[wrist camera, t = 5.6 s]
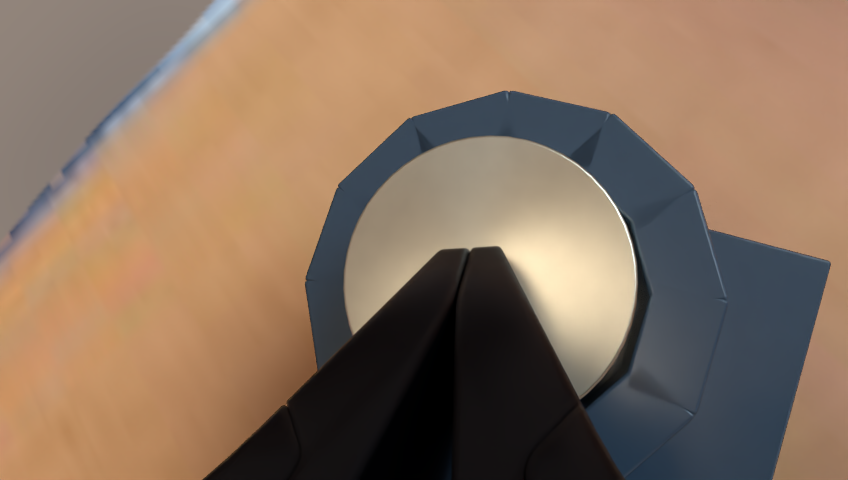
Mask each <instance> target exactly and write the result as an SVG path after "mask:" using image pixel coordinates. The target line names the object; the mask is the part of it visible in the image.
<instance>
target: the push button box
mask: <svg viewBox="0 0 848 480" xmlns="http://www.w3.org/2000/svg"><path fill="white" fill-rule="evenodd" d="M478 136H509V137H514V138H520V139H526V140H529V141H533V142H536V143H539V144H542V145H545V146H547V147H549V148H552V149H554V150H556V151H558V152H560V153H562V154H564V155H566V156H567V157H569V158H570V159H572V160H573V161H575V162H577V163H578V164H579V165H581V166H582V167H583V168H584V169H585V170H587V171H588V172H589V173H590V174H591V175H592V176H594V178H595V179H596V180H597V181H598V182H599V183H600V184H601V185H602V186H603V187H604V188H605V190H606V191H607V192H608V194H609V195H610V197H611V198H612V199H613V201H614V202H615V204H616V205H617V207H618V209H619V211H620V213H621V215H622V216H623V218H624V220H625V222H626V224H627V227H628V230H629V233H630V236H631V239H632V242H633V245H634V251H635V256H636V261H637V272H638V292H637V304H636V309H635V313H634V318H633V322H632V326H631V328H630V331H629V334H628V336H627V339H626V342H625V344H624V346H623V348H622V350H621V351H620V353H619V355H618V357H617V359H616V361H615V362H614V364H613V365H612V366H611V368H610V369H609V370H608V372H607V373H606V374H605V376H604V377H603V379H602V380H601V381H600V382H599V383H598V384H597V385H596V386H595V387H594V388H593V389H592V390H591V391H590V392H589V393H588V394H587V395H585V396H584V397H583V398H581V399H580V401H581V403H582V406H583V407H584V408H585V409H586V411H587V413H588V415H589V417H590V419H591V421H592V423H593V425H594V427H595V429H596V431H597V432H598V434H599V436H600V438H601V439H602V441H603V443H604V445H605V446H606V448H607V450H608V452H609V453H610V455H611V457H612V459H613V460H614V462H615V464H616V466H617V467H618V469H619V470H620V472H621V473H622V475H623V476H624V478H625V479H626V480H772V479H773V475H774V472H775V468H776V464H777V461H778V457H779V453H780V450H781V446H782V442H783V439H784V435H785V431H786V428H787V424H788V420H789V417H790V413H791V409H792V406H793V402H794V398H795V394H796V391H797V387H798V383H799V380H800V376H801V372H802V369H803V365H804V361H805V358H806V354H807V350H808V347H809V343H810V339H811V336H812V332H813V328H814V325H815V321H816V317H817V314H818V310H819V306H820V303H821V299H822V295H823V292H824V288H825V284H826V281H827V277H828V273H829V270H830V266H831V263H830V262H829V261H828V260H824V259H820V258H816V257H812V256H809V255H805V254H801V253H797V252H793V251H790V250H786V249H782V248H778V247H774V246H771V245H767V244H763V243H759V242H755V241H752V240H748V239H744V238H740V237H736V236H733V235H729V234H725V233H721V232H717V231H713V230H710V229H708V227H707V223H706V220H705V217H704V213H703V210H702V206H701V203H700V200H699V196H698V193H697V191H696V190H694V186H693V185H692V184H691V183H690V182H689V181H688V180H687V179H686V178H685V177H684V176H683V175H681V174H680V173H679V172H678V171H677V170H676V169H675V168H674V167H673V166H672V165H670V164H669V163H668V162H667V161H666V160H665V159H664V158H663V157H662V156H660V155H659V154H658V153H657V152H656V151H655V150H654V149H653V148H652V147H651V146H649V145H648V144H647V143H646V142H645V141H644V140H643V139H642V138H641V137H640V136H638V135H637V134H636V133H635V132H634V131H633V130H632V129H631V128H630V127H628V126H627V125H626V124H625V123H624V122H623V121H622V120H621V119H620V118H619V117H617V116H616V115H615V114H610V113H609V112H606V111H601V110H597V109H592V108H588V107H583V106H579V105H574V104H570V103H565V102H561V101H556V100H552V99H547V98H543V97H538V96H534V95H529V94H525V93H520V92H516V91H510V92H508V91H502V92H498V93H495V94H491V95H488V96H484V97H481V98H477V99H474V100H470V101H467V102H463V103H460V104H456V105H453V106H449V107H446V108H442V109H439V110H435V111H432V112H428V113H424V114H421V115H417V116H414V117H412V119H411V118H409V119H407V120H406V121H405V122H404V123H403V124H402V125H401V126H400V127H399V128H398V129H397V130H396V131H395V132H393V133H392V134H391V135H390V136H389V137H388V138H387V139H386V140H385V141H384V142H383V143H382V144H381V145H380V146H379V147H378V148H377V149H375V150H374V151H373V152H372V153H371V154H370V155H369V156H368V157H367V158H366V159H365V160H364V161H363V162H362V163H361V164H360V165H359V166H358V167H356V168H355V169H354V170H353V171H352V172H351V173H350V174H349V175H348V176H347V177H346V178H345V179H344V180H343V181H342V182H341V183H340V184H339V185H338V187H339V188H337V190H336V192H335V195H334V198H333V201H332V204H331V206H330V209H329V212H328V215H327V218H326V221H325V224H324V226H323V229H322V232H321V235H320V238H319V241H318V244H317V246H316V249H315V252H314V255H313V258H312V261H311V264H310V266H309V269H308V272H307V275H306V280H307V281H306V282H305V287H306V294H307V301H308V308H309V314H310V321H311V328H312V335H313V341H314V348H315V355H316V362H317V368H318V370H319V369H320V368H321V367H322V366H323V365H324V364H325V363H326V362H327V361H328V360H329V359H330V358H331V357H332V356H333V355H334V354H335V353H336V352H337V351H338V350H339V349H340V348H341V347H342V346H343V345H344V344H345V343H346V342H347V341H348V340H349V339H350V338H351V337H352V336H353V335H352V332H351V329H350V327H349V323H348V318H347V314H346V309H345V301H344V291H343V287H344V268H345V261H346V254H347V250H348V247H349V243H350V240H351V236H352V234H353V231H354V229H355V226H356V224H357V222H358V219H359V217H360V216H361V214H362V212H363V210H364V209H365V207H366V205H367V203H368V202H369V201H370V199H371V198H372V197H373V195H374V194H375V193H376V191H377V190H378V189H379V188H380V187H381V185H382V184H383V183H384V182H385V181H386V180H387V179H388V178H389V177H390V176H391V175H392V174H393V173H395V172H396V171H397V170H398V169H399V168H401V167H402V166H403V165H404V164H406V163H407V162H409V161H410V160H412V159H414V158H415V157H417V156H418V155H420V154H422V153H424V152H426V151H428V150H430V149H432V148H434V147H436V146H439V145H442V144H445V143H448V142H451V141H455V140H459V139H464V138H469V137H478Z"/></svg>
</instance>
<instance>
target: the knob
mask: <svg viewBox="0 0 848 480" xmlns="http://www.w3.org/2000/svg"><path fill="white" fill-rule="evenodd" d="M487 246H499V247H501V249H502V250H503V252H504V254H505V256H506V258H507V259H508V261H509V263H510V265H511V267H512V269H513V271H514V273H515V275H516V277H517V279H518V281H519V283H520V285H521V287H522V288H523V290H524V292H525V294H526V296H527V298H528V300H529V302H530V304H531V306H532V308H533V310H534V312H535V314H536V316H537V317H538V319H539V321H540V323H541V325H542V327H543V329H544V331H545V333H546V335H547V337H548V339H549V341H550V343H551V345H552V346H553V348H554V350H555V352H556V354H557V356H558V358H559V360H560V362H561V364H562V366H563V368H564V370H565V372H566V374H567V375H568V377H569V379H570V381H571V383H572V385H573V387H574V389H575V391H576V393H577V395H578V397H579V399H581V398H583V397H584V396H585V395H587V394H588V393H589V392H590V391H591V390H592V389H593V388H594V387H595V386H596V385H597V384H598V383H599V382H600V381H601V380H602V379H603V377H604V376H605V374H606V373H607V372H608V370H609V369H610V368H611V366H612V365H613V364H614V362H615V361H616V359H617V357H618V355H619V353H620V351H621V350H622V348H623V346H624V344H625V342H626V339H627V336H628V334H629V331H630V328H631V326H632V322H633V318H634V313H635V309H636V304H637V292H638V272H637V261H636V256H635V251H634V245H633V242H632V239H631V236H630V233H629V230H628V227H627V224H626V222H625V220H624V218H623V216H622V215H621V213H620V211H619V209H618V207H617V205H616V204H615V202H614V201H613V199H612V198H611V197H610V195H609V194H608V192H607V191H606V190H605V188H604V187H603V186H602V185H601V184H600V183H599V182H598V181H597V180H596V179H595V178H594V176H592V175H591V174H590V173H589V172H588V171H587V170H585V169H584V168H583V167H582V166H581V165H579V164H578V163H577V162H575V161H573V160H572V159H570V158H569V157H567V156H566V155H564V154H562V153H560V152H558V151H556V150H554V149H552V148H549V147H547V146H545V145H542V144H539V143H536V142H533V141H529V140H526V139H520V138H514V137H509V136H478V137H469V138H464V139H459V140H455V141H451V142H448V143H445V144H442V145H439V146H436V147H434V148H432V149H430V150H428V151H426V152H424V153H422V154H420V155H418V156H417V157H415V158H414V159H412V160H410V161H409V162H407V163H406V164H404V165H403V166H402V167H401V168H399V169H398V170H397V171H396V172H395V173H393V174H392V175H391V176H390V177H389V178H388V179H387V180H386V181H385V182H384V183H383V184H382V185H381V187H380V188H379V189H378V190H377V191H376V193H375V194H374V195H373V197H372V198H371V199H370V201H369V202H368V203H367V205H366V207H365V209H364V210H363V212H362V214H361V216H360V217H359V219H358V222H357V224H356V226H355V229H354V231H353V234H352V236H351V240H350V243H349V247H348V250H347V254H346V261H345V268H344V287H343V291H344V301H345V309H346V314H347V318H348V323H349V327H350V329H351V332H352V335H354V334H355V333H356V332H357V331H358V330H359V329H360V328H361V327H362V326H363V325H364V324H365V323H366V322H367V321H368V320H369V319H370V318H371V317H372V316H373V315H374V314H375V313H376V312H377V311H378V310H379V309H380V308H381V307H382V306H383V305H384V304H385V303H386V302H387V301H388V300H389V299H390V298H391V297H392V296H393V295H394V294H396V293H397V292H398V291H399V290H400V289H401V288H402V287H403V286H404V285H405V284H406V283H407V282H408V281H409V280H410V279H411V278H412V277H413V276H414V275H415V274H416V273H417V272H418V271H419V270H420V269H421V268H422V267H423V266H424V265H425V264H426V263H427V262H428V261H429V260H430V259H431V258H432V257H433V256H434V255H435V254H436V253H437V252H438V251H440V250H442V249H454V248H467V249H469V251H471V249H472V248H475V247H487Z"/></svg>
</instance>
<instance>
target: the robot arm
mask: <svg viewBox="0 0 848 480" xmlns="http://www.w3.org/2000/svg"><path fill="white" fill-rule="evenodd" d="M203 480H626V479H625V478H624V476H623V475H622V473H621V472H620V470H619V469H618V467H617V466H616V464H615V462H614V460H613V459H612V457H611V455H610V453H609V452H608V450H607V448H606V446H605V445H604V443H603V441H602V439H601V438H600V436H599V434H598V432H597V431H596V429H595V427H594V425H593V423H592V421H591V419H590V417H589V415H588V413H587V411H586V409H585V408H584V407H583V406H582V403H581V401H580V399H579V397H578V395H577V393H576V391H575V389H574V387H573V385H572V383H571V381H570V379H569V377H568V375H567V374H566V372H565V370H564V368H563V366H562V364H561V362H560V360H559V358H558V356H557V354H556V352H555V350H554V348H553V346H552V345H551V343H550V341H549V339H548V337H547V335H546V333H545V331H544V329H543V327H542V325H541V323H540V321H539V319H538V317H537V316H536V314H535V312H534V310H533V308H532V306H531V304H530V302H529V300H528V298H527V296H526V294H525V292H524V290H523V288H522V287H521V285H520V283H519V281H518V279H517V277H516V275H515V273H514V271H513V269H512V267H511V265H510V263H509V261H508V259H507V258H506V256H505V254H504V252H503V250H502V249H501V247H499V246H487V247H475V248H472V249H471V251H469V249H467V248H454V249H442V250H440V251H438V252H437V253H436V254H435V255H434V256H433V257H432V258H431V259H430V260H429V261H428V262H427V263H426V264H425V265H424V266H423V267H422V268H421V269H420V270H419V271H418V272H417V273H416V274H415V275H414V276H413V277H412V278H411V279H410V280H409V281H408V282H407V283H406V284H405V285H404V286H403V287H402V288H401V289H400V290H399V291H398V292H397V293H396V294H394V295H393V296H392V297H391V298H390V299H389V300H388V301H387V302H386V303H385V304H384V305H383V306H382V307H381V308H380V309H379V310H378V311H377V312H376V313H375V314H374V315H373V316H372V317H371V318H370V319H369V320H368V321H367V322H366V323H365V324H364V325H363V326H362V327H361V328H360V329H359V330H358V331H357V332H356V333H355V334H354V335H353V336H352V337H351V338H350V339H349V340H348V341H347V342H346V343H345V344H344V345H343V346H342V347H341V348H340V349H339V350H338V351H337V352H336V353H335V354H334V355H333V356H332V357H331V358H330V359H329V360H328V361H327V362H326V363H325V364H324V365H323V366H322V367H321V368H320V369H319V370H318V371H317V372H316V373H315V374H314V375H313V376H312V377H311V378H310V379H309V380H308V381H307V382H306V383H305V384H304V385H303V386H302V387H301V388H300V389H299V390H298V391H297V392H296V393H295V394H294V395H293V396H292V397H290V398H289V399H288V401H287V406H285V405H283V406H281V407H280V408H279V409H278V410H277V411H276V412H275V413H274V414H273V415H272V416H271V417H270V418H269V419H268V420H267V421H266V422H265V423H264V424H263V425H262V426H261V427H260V428H259V429H258V430H257V431H256V432H255V433H253V434H252V435H251V436H250V437H249V438H248V439H247V440H246V441H245V442H244V443H243V444H242V445H241V446H240V447H239V448H238V449H237V450H235V451H234V452H233V453H232V454H231V455H230V456H229V457H228V458H227V459H226V460H225V461H223V462H222V463H221V464H220V465H219V466H218V467H216V468H215V469H214V470H213V471H212V472H211V473H210V474H208V475H207V476H206V477H205V478H204V479H203Z"/></svg>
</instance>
